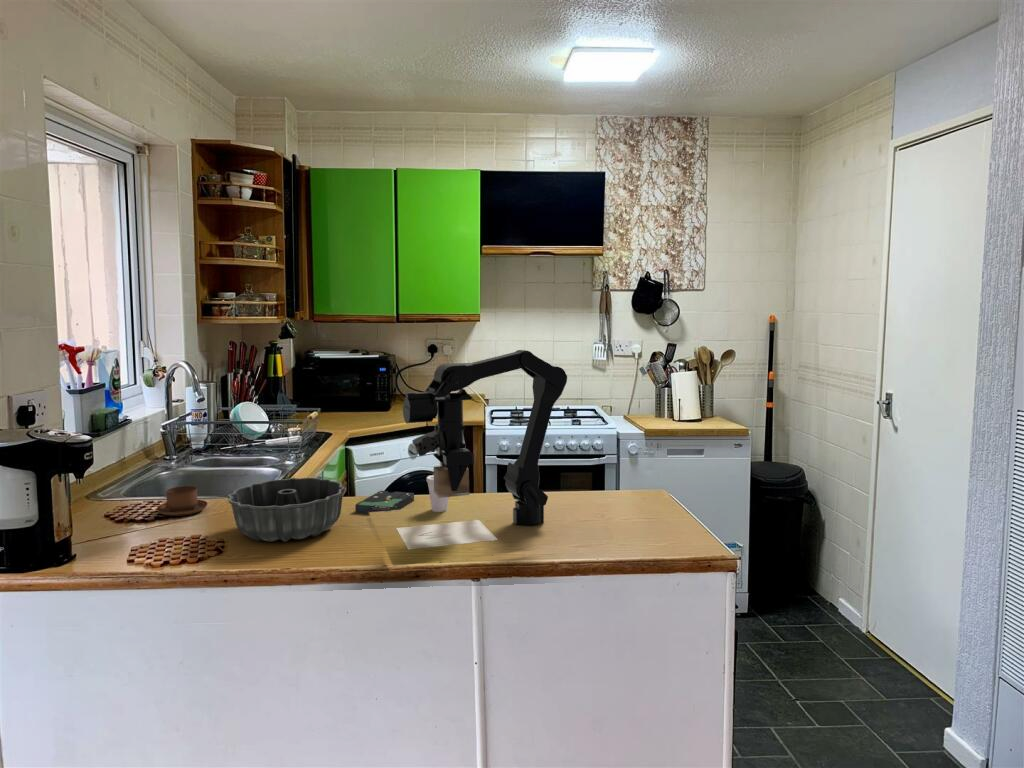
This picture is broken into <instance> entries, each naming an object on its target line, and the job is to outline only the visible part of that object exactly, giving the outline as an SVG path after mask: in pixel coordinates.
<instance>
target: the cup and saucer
mask: <svg viewBox="0 0 1024 768" xmlns="http://www.w3.org/2000/svg"><path fill="white" fill-rule="evenodd" d="M165 493H166V494H165V495H166V503H162V504H160V505H158V506H157V508H156V510H157V512H158V513H159V514H161V515H163V516H169V517H181V516H188V515H194V514H196V513H199V512H201V511H203V510H205V509H206V507H207V506H208V502H207V501H206V500H203V499H198V488H197V487H196V486H192V485H191V486H190V485H185V486H175V487H172V488H169V489H166V491H165Z"/></svg>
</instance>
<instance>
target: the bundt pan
mask: <svg viewBox="0 0 1024 768" xmlns="http://www.w3.org/2000/svg"><path fill="white" fill-rule="evenodd" d="M344 491H346V487H345V486H343V484H342V483H341V482H339V481H335V480H331V479H329V478H328V479H327V478H326V479H325V478H319V477H318V478H317V477H299V478H298V477H291V478H284V479H280V478H278V479H272V480H265V481H262V482H259V483H250V484H249V485H246V486H242V487H239V488H236V489H235V490H233V493H230V494H227V499H228V500H227V501H228V503H229V504H230V505H231V508H232V513H233V518H234V521H235V525H236V527H237V530H239V532H240V533H242V534H243V535H244V536H246V537H248V538H250V539H251V540H253V541H256V542H257V541H258V542H259V541H260V542H261V541H264V542H268V543H270V542H271V543H272V542H276V541H279V540H281V541H282V542H284V543H287V542H288V541H289V540H291V539H293V540H304V539H307V537H317V536H319V535H321V533H323V532H326V531H328V530H329V529H331V528H332V527H333V525H334V524H335V523H336V522H337V521H338V520H339V518H340V516H341V514H342V513H341V511H342V505H343V503H342V502H343V496H344Z"/></svg>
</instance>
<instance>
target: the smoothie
mask: <svg viewBox="0 0 1024 768" xmlns="http://www.w3.org/2000/svg"><path fill="white" fill-rule="evenodd" d="M439 466H441V463H440V462H439ZM426 482H427V486H428V492H429V501H430V505H431V506H430V507H431V511H432V512H435V513H443V512H447V511H448V507H449V498H450V497H443V498H438V497H437V495H436V494H435V493H434V474H432V475H427V477H426Z"/></svg>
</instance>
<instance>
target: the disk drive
mask: <svg viewBox="0 0 1024 768" xmlns="http://www.w3.org/2000/svg"><path fill="white" fill-rule="evenodd" d="M414 493H415V492H404V491H402V492H401V491H393V492H389V491H388V490H380V491H377V492H376V493H374V494H371V495H370V496H368V497H366V498H365V499H363V500H361V501H359V502H357V503H356V504H355V513H356V512H357V513H358V514H370V513H378V512H379V513H380V512H387V511H389V512H392V511H400V510H401V509H404V508H405V507H407V506H409V505H410V504H411V503H413V502H415V494H414Z"/></svg>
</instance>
